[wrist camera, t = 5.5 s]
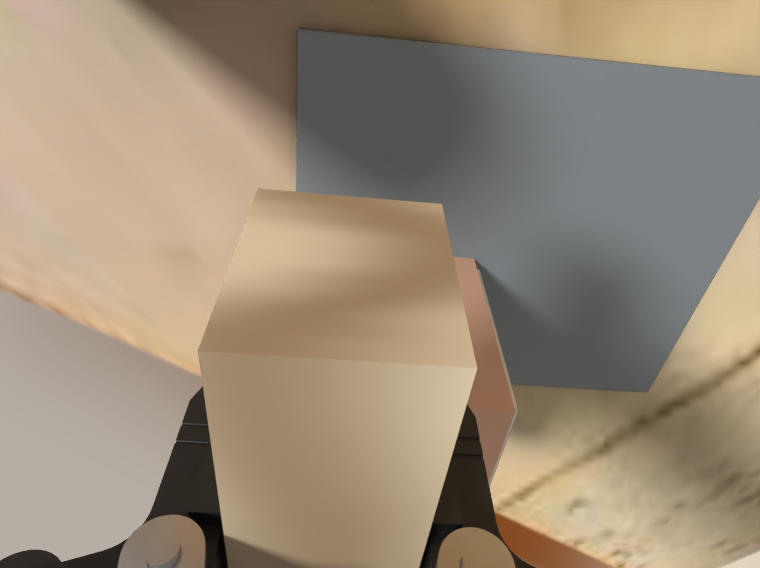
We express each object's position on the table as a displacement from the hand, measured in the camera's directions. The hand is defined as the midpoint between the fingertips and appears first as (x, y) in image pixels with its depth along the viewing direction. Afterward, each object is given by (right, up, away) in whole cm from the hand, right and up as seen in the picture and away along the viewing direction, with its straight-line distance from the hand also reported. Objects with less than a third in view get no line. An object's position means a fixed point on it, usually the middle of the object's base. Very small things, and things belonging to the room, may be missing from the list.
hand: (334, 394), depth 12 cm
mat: (+8, +4, +16) cm, 18 cm away
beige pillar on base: (0, -2, +1) cm, 2 cm away
